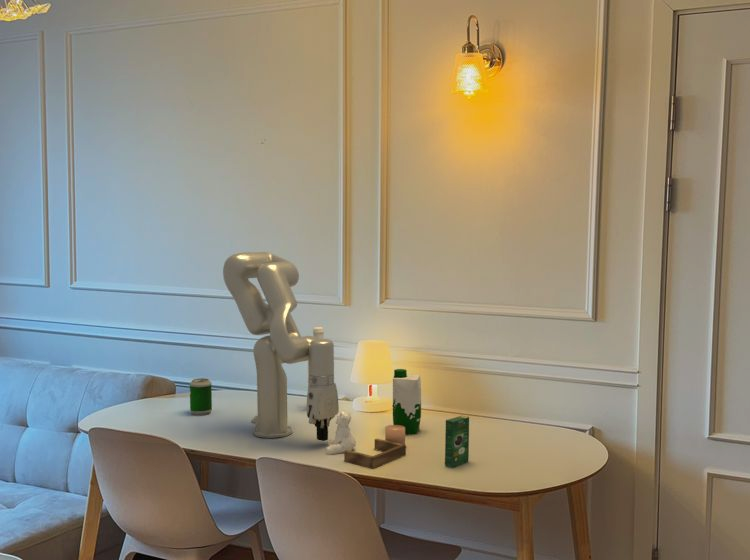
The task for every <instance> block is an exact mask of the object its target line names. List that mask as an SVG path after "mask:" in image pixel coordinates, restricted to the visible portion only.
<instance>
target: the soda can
mask: <svg viewBox="0 0 750 560" xmlns="http://www.w3.org/2000/svg"><path fill="white" fill-rule="evenodd" d="M212 392H213V391H212V381H211V380H210V379H208V378H205V377H203V378H194V379H192V380H191V381H190V383H189V412H191V414H192V415H194V416H198V417H199V416H206V415H209V414H210V413H211V411H212V410H213V400H212Z"/></svg>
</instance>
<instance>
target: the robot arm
mask: <svg viewBox="0 0 750 560" xmlns="http://www.w3.org/2000/svg"><path fill="white" fill-rule="evenodd" d="M222 275H223V280H224V283H225V284H224V285H225V286H226V288H227V291H228V292H229V293H230V295H231V296H232V298H233V300H234V301H235V303H236V306H237V308H238V311H239V312H240V313H239V314H240V315H241V318H242V319H243V322H244V325H245V326H246V328H247V331H248V332H249V333H250V334H252V335H254V336H262V335H266V336H263V337H260V338H259V339H257V341H256V342H255V344H254V345H253V349H252V350H253V357H254V358H253V359H254V363H255V367H256V368H255V371H256V390H257V391H256V392H257V393H256V394H257V396H256V397H257V398H256V399H257V401H256V403H257V406H256V407H257V415H255V416H254V417H253V418H252V419H251V420H250V423H251V424H254V425H255V427H254V428H253V429H252V434H253V435H254V436H255V437H258V438H263V439H275V438H282V437H283V438H284V437H288V436H289V435H292V433H293V428H292V426H289V425H288V378H287V377H288V376H287V373H286V371H285V369H284V366H283V365H282V364H285V363H286V364H289V365H290V364H291V365H292V364H298V363H301V362H302V363H303V362H306V361H307V362H308V360H309V381H308V380H307V383H308V382H309V387H308V386H307V395H306V417H307V418H308V423H309V424H310V425H314V427H315V428H316V440H318V441H321V442H325V441H329V427H330V422H331V421H332V420H333V419H334V418H336V416H337V415H338V414H339V410H340V409H339V394H338V388H337V387H338V386H337V384H336V382H335V354H334V353H335V351H334V350H335V349H334V348H335V346H334V342H333V341H332V340H331V339H329V338H323V339H319V338H316V337H313V335H305V336H302V335H301V333H300V331H299V329H298V327H297V324H296V322H295V320H294V318H293V316H292V314H291V313H292V312H293V311H294V310H295V309H296V308H297V306H298V302H297V299H296V296H295V295H294V292H293V290H292V287H295V286H296V285H297V283H298V282H299V280H300V273H299V271H298V268H297V266H296V265H295V264H294V263H292V262H291V261H290V260H287V259H285V258H282V257H280V256H278V255H276V254H273V253H272V252H271V253H270V252H267V251H252V252H250V251H248V252H237V253H233V254H232V255H229V257H228V258H226V260H225V261H224V264H223V268H222ZM249 279H256V280H257V281H258V284H259V287H260V289H261V291H262V293H261V292H260V290H259V289H258V288H257V286H255V285H254V284H253V282H251V281H250V280H249ZM262 294H263V295H264V298H265V300H266V302H265V300H264V298H263V295H262Z"/></svg>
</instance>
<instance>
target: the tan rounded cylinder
mask: <svg viewBox="0 0 750 560" xmlns="http://www.w3.org/2000/svg"><path fill="white" fill-rule="evenodd" d="M384 440H386V441H390V442H395V443H399V444H404V445H406V434H405V427H404V426H401V425H393V424H389V425H386V426H385V427H384Z"/></svg>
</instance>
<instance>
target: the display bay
mask: <svg viewBox="0 0 750 560" xmlns="http://www.w3.org/2000/svg"><path fill="white" fill-rule="evenodd" d="M375 449H377V450H376V451H380V450H381V451H380V453H377V454H375V455H369V454H366V453H362V452H357V451H353V450H351V451H350V450H345V451H344V454H343V458H344V459H343V461H344V462H346V463H350V464H354V465H358V466H362V467H365V468H369V469H374V470H375V469H377V468H379V467H382V466H384V465H386V464H388V463H390V461H391V462H393V461H395V460H398V459H400V458H403V457H404V456H407V455H406V454H407V445H406V444H405V445H404V444H399V443H395V442H390V441H386V440H385V439H382V438H375V439H374V450H375ZM384 451H385V452H384ZM402 456H403V457H402ZM397 458H398V459H397ZM385 463H386V464H385ZM383 464H384V465H383Z"/></svg>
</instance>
